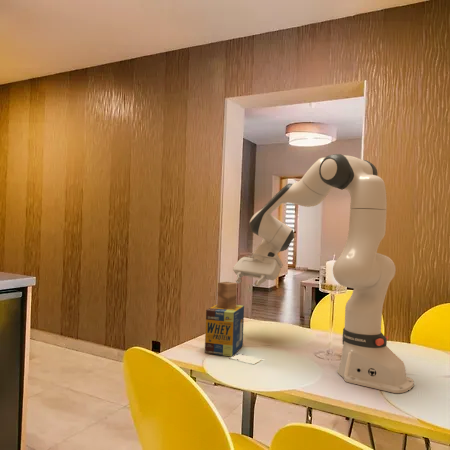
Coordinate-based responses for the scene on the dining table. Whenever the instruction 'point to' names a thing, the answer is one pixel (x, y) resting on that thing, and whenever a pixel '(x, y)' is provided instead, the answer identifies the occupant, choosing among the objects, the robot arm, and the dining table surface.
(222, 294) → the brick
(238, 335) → the protein box
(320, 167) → the robot arm
